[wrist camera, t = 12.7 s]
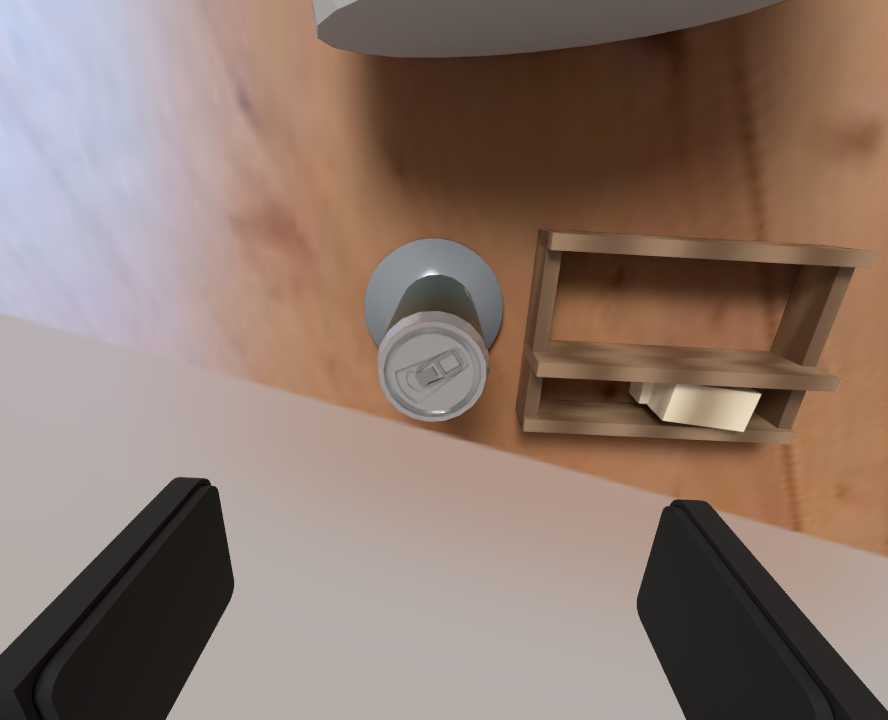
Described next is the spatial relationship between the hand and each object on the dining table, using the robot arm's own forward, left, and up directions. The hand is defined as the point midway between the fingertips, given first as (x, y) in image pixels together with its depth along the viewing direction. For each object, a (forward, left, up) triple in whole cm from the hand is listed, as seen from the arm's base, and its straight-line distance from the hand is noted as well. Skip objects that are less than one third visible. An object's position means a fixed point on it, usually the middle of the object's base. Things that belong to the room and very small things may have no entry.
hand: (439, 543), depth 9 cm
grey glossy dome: (+1, +1, -23) cm, 23 cm away
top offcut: (-19, +6, -22) cm, 29 cm away
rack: (-16, +2, -23) cm, 29 cm away
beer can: (0, +1, -23) cm, 23 cm away
